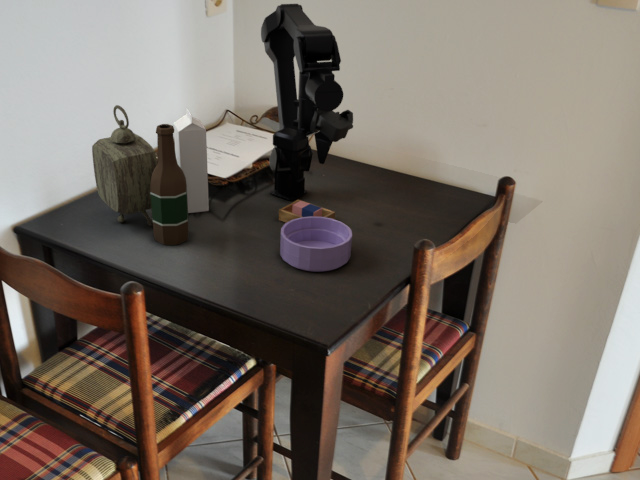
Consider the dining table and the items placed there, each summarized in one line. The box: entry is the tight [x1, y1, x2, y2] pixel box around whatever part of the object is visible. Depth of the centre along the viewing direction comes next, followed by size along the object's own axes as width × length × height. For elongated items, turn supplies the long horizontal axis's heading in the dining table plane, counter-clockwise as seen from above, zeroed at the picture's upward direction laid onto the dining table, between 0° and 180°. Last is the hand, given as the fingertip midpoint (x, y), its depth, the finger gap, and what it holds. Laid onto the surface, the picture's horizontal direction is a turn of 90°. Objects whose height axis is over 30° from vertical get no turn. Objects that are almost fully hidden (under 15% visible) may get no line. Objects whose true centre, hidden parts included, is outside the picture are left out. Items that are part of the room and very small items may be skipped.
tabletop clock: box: [91, 104, 158, 227], centre depth 159 cm, size 14×9×25 cm, turn 33°
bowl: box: [279, 216, 353, 273], centre depth 153 cm, size 14×14×6 cm
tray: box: [278, 199, 336, 223], centre depth 167 cm, size 10×7×2 cm
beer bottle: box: [150, 123, 190, 246], centre depth 153 cm, size 8×8×24 cm
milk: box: [173, 107, 210, 214], centre depth 166 cm, size 6×6×22 cm
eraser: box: [292, 200, 323, 217], centre depth 166 cm, size 6×3×3 cm, turn 52°
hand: (309, 169), depth 161 cm, fingers open, 9 cm apart
